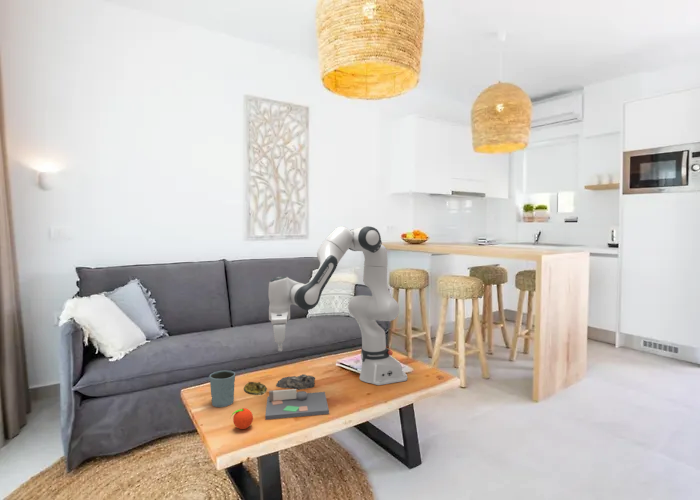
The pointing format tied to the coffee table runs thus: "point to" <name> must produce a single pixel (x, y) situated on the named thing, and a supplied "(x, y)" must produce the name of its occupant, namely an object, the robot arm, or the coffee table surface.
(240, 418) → the clementine
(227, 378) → the grey-green cup
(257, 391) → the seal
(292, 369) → the coffee table surface
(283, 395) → the control lever
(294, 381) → the fossil rock
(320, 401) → the dial board
